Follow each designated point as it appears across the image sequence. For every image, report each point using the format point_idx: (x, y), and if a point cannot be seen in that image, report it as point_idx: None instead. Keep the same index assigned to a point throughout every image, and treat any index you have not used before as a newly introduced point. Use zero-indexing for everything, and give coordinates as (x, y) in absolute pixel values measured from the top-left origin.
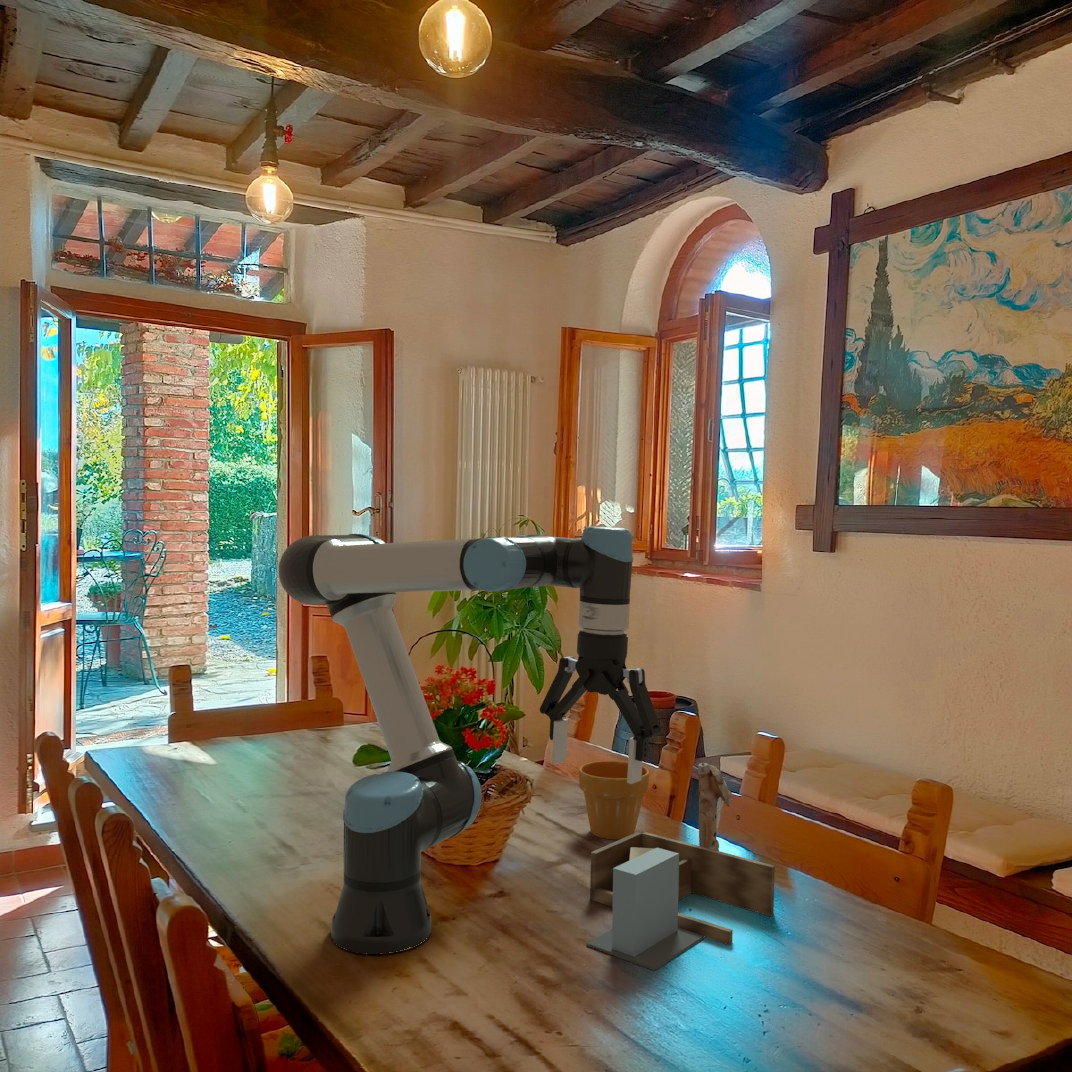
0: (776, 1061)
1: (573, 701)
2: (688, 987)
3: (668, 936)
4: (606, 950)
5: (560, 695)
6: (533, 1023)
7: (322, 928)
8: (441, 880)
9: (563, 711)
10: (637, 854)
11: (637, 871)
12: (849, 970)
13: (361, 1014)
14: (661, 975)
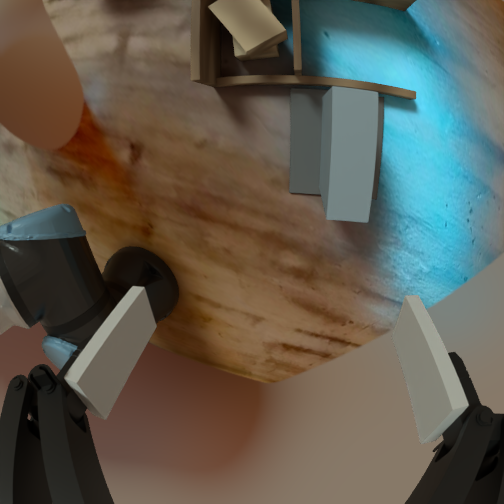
0: (480, 269)
1: (92, 483)
2: (413, 210)
3: None
4: (316, 193)
5: (22, 447)
6: (329, 322)
7: None
8: (84, 171)
9: (84, 437)
10: (233, 19)
11: (364, 209)
12: (499, 103)
13: (231, 359)
14: (385, 203)
